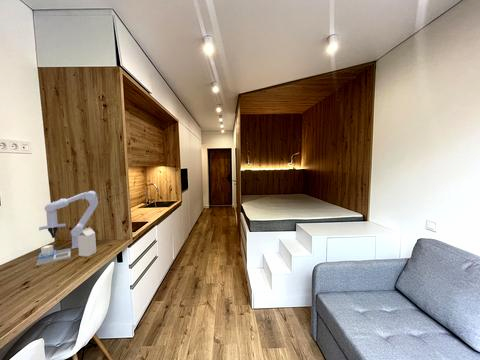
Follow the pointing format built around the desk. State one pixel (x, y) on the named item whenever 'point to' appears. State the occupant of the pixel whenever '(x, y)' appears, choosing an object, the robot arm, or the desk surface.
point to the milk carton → (87, 242)
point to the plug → (47, 250)
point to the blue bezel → (46, 255)
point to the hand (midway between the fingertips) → (53, 237)
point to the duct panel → (56, 256)
